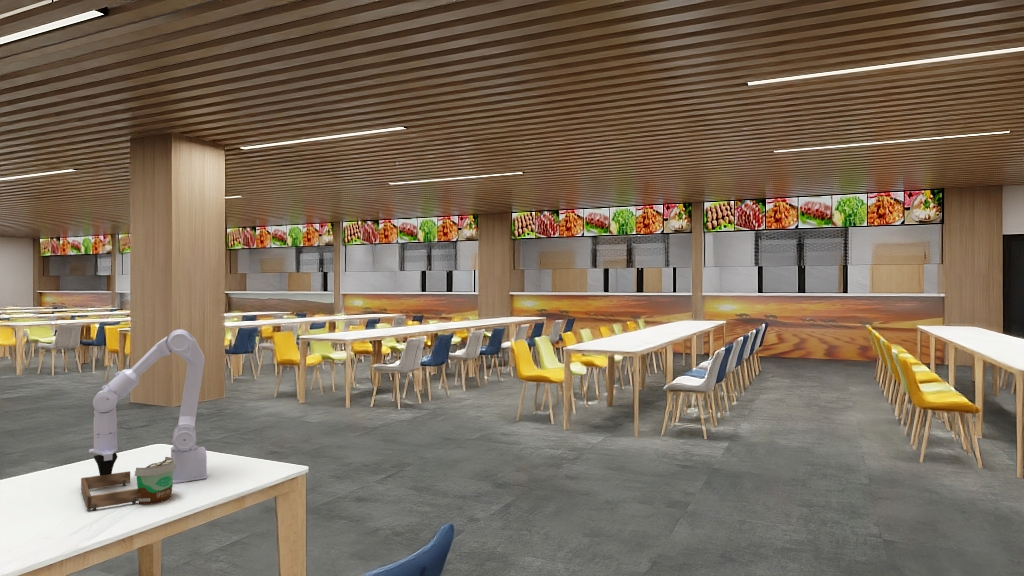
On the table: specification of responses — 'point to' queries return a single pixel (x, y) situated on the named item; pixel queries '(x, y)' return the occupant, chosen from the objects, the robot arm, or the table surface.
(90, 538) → the table surface
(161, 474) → the food container
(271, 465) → the table surface
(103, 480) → the wooden u-shaped frame
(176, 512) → the table surface
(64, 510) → the table surface
